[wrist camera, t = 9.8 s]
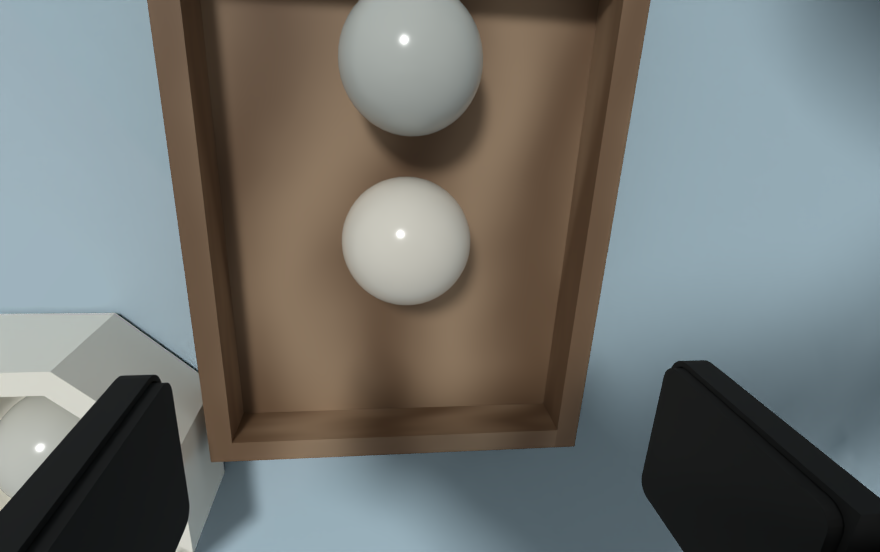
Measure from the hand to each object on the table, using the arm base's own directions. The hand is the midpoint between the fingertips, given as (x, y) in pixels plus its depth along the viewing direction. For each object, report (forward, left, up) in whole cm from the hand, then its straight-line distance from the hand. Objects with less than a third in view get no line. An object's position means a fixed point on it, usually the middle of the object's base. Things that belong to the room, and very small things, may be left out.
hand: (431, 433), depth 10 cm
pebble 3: (0, 0, -14) cm, 14 cm away
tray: (0, 0, -15) cm, 15 cm away
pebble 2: (0, -7, -14) cm, 15 cm away
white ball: (+15, +9, -14) cm, 22 cm away
